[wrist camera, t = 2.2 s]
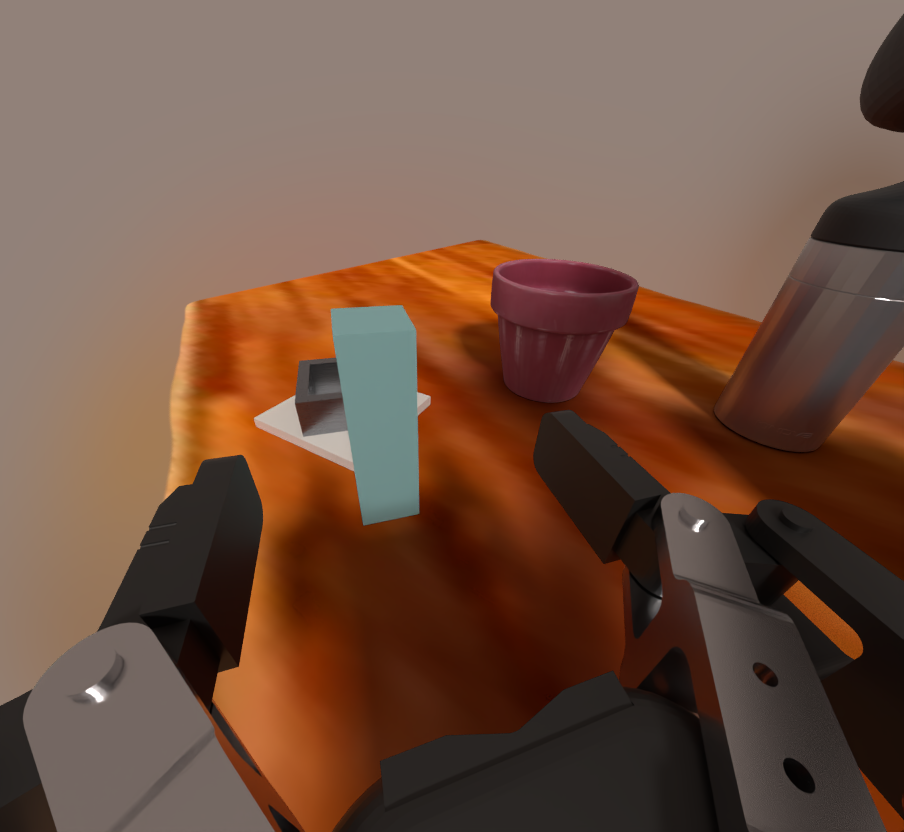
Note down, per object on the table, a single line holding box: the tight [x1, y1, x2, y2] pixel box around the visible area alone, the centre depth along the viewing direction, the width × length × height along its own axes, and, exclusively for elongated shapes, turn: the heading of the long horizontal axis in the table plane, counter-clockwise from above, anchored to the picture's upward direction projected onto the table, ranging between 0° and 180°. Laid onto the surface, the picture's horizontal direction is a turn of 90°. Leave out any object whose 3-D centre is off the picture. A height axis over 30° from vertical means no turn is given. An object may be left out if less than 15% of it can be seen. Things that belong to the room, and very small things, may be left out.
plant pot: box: [491, 259, 639, 403], centre depth 39 cm, size 14×14×13 cm
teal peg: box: [331, 305, 419, 526], centre depth 23 cm, size 4×4×14 cm
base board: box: [254, 392, 430, 472], centre depth 35 cm, size 12×12×1 cm
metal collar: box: [295, 358, 348, 437], centre depth 34 cm, size 8×8×4 cm
